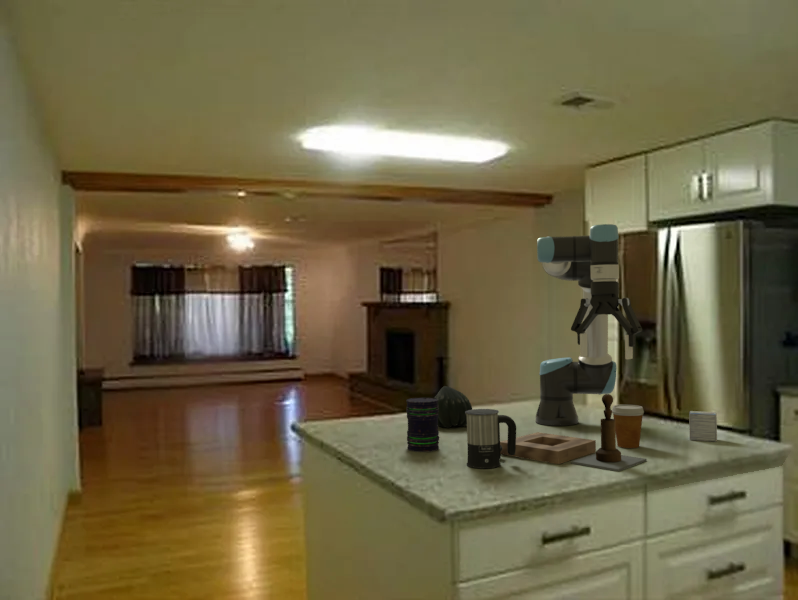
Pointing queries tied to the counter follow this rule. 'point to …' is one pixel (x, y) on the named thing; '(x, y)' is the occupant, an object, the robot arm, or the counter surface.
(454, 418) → the squash
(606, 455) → the wooden pepper mill
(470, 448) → the milk frother
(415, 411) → the storage jar
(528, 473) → the counter surface
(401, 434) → the counter surface
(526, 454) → the collar block
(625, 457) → the mat
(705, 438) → the medicine box
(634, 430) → the disposable coffee cup
